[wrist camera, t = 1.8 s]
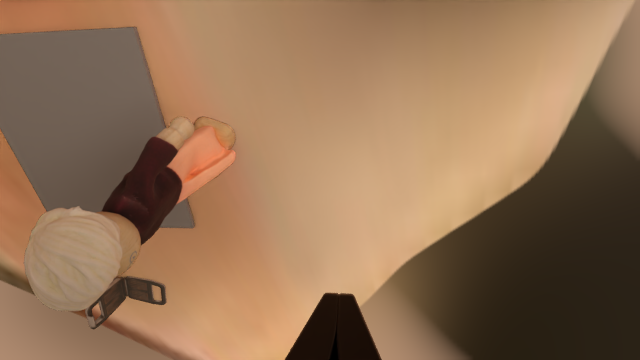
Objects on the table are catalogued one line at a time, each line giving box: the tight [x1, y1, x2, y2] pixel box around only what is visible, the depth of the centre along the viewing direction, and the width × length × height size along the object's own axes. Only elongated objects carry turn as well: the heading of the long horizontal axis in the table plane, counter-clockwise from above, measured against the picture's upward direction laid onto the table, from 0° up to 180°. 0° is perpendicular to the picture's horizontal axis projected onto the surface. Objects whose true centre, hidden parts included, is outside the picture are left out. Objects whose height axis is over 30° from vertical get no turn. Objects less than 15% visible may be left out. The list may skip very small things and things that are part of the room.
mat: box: [0, 27, 195, 228], centre depth 21 cm, size 12×14×1 cm
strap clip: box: [85, 276, 166, 329], centre depth 27 cm, size 8×3×4 cm, turn 79°
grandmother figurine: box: [24, 117, 236, 311], centre depth 15 cm, size 8×4×13 cm, turn 159°
